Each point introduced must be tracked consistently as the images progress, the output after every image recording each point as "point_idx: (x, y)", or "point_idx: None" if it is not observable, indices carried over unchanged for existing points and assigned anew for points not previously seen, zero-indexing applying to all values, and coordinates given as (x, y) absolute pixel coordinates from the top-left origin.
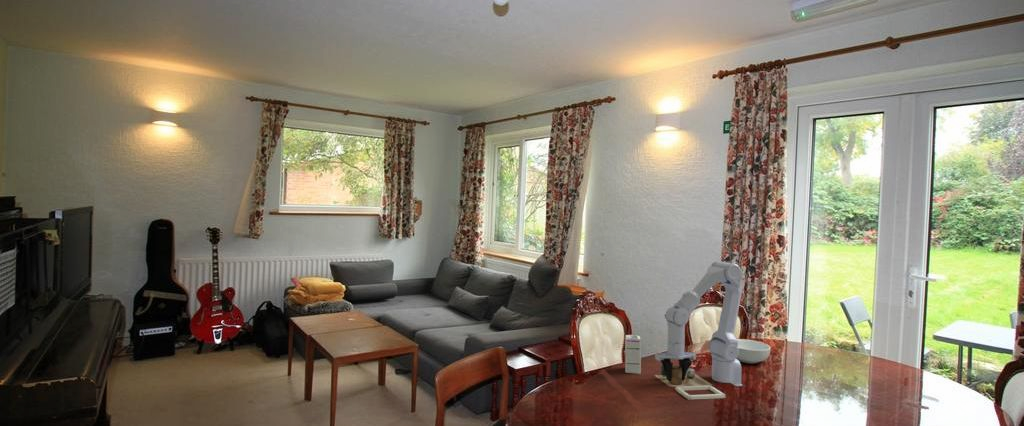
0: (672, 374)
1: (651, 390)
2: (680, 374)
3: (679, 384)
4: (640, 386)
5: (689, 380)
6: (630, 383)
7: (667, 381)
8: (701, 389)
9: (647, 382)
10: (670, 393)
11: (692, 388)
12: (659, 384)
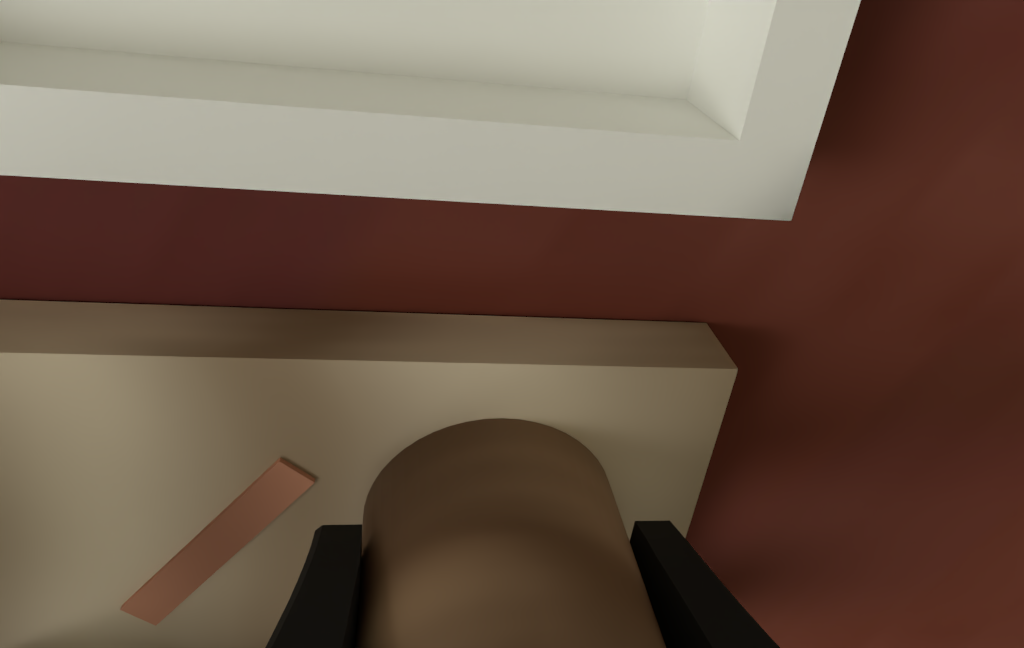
0: (657, 637)
1: (971, 384)
2: (470, 614)
3: (478, 426)
4: (979, 533)
5: (117, 602)
6: (1005, 624)
7: None
8: (53, 63)
9: None
10: None
11: (343, 97)
12: None
